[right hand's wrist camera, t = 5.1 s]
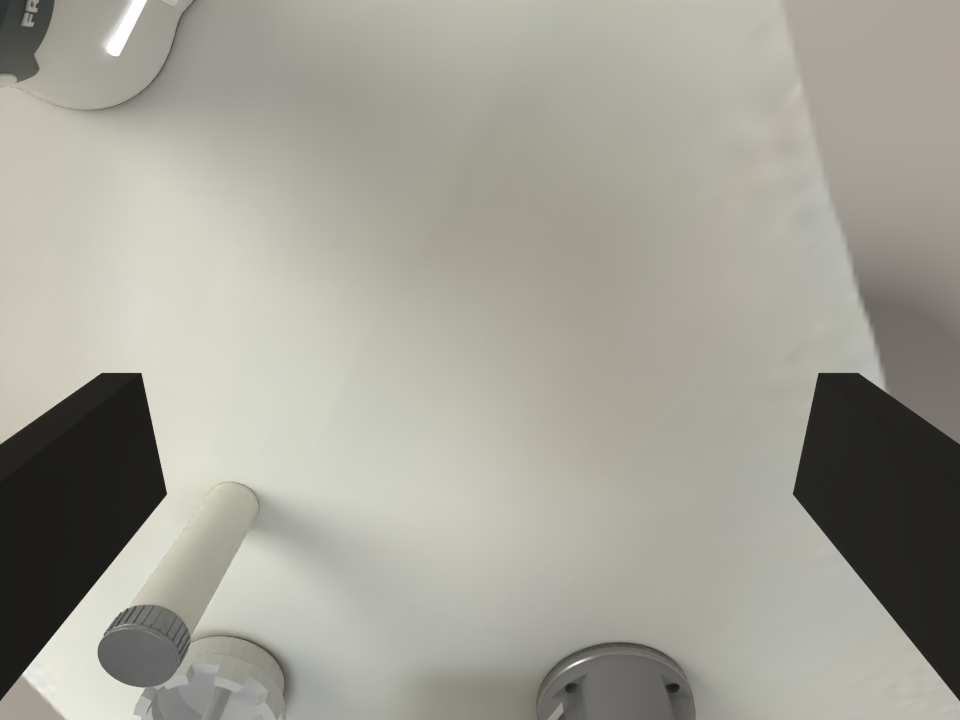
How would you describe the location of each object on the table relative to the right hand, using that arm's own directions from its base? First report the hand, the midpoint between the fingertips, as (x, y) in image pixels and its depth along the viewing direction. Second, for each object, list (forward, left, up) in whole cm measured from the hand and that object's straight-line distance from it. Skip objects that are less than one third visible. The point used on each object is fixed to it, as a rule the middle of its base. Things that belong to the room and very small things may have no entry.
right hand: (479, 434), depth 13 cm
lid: (-26, +21, -19) cm, 39 cm away
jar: (-26, +21, -36) cm, 49 cm away
